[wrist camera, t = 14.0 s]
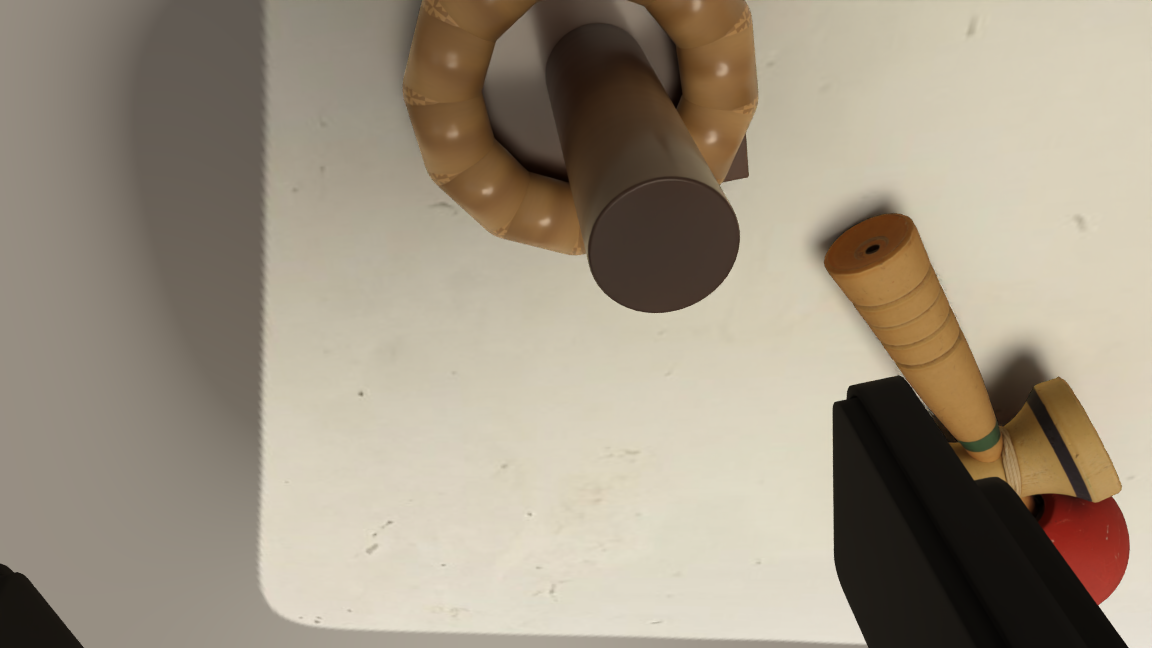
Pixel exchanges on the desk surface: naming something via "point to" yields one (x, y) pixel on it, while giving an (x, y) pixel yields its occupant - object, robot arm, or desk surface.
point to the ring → (492, 175)
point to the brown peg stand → (616, 147)
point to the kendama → (987, 401)
